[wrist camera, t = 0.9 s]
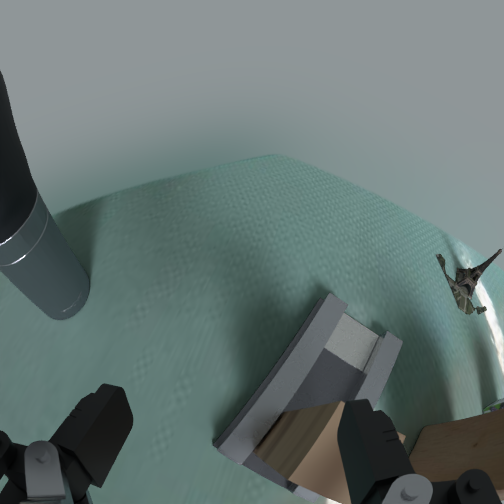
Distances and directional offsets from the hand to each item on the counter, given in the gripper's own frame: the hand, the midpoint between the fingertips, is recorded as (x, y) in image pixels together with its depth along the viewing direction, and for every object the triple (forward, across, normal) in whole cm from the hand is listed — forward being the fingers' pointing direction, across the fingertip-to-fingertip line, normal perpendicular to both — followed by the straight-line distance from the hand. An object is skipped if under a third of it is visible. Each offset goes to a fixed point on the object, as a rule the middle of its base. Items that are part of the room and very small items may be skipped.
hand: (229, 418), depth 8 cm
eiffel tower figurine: (+37, -41, +8) cm, 56 cm away
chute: (+19, -8, +16) cm, 26 cm away
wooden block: (+12, -26, +28) cm, 39 cm away
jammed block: (+14, -4, +19) cm, 24 cm away
